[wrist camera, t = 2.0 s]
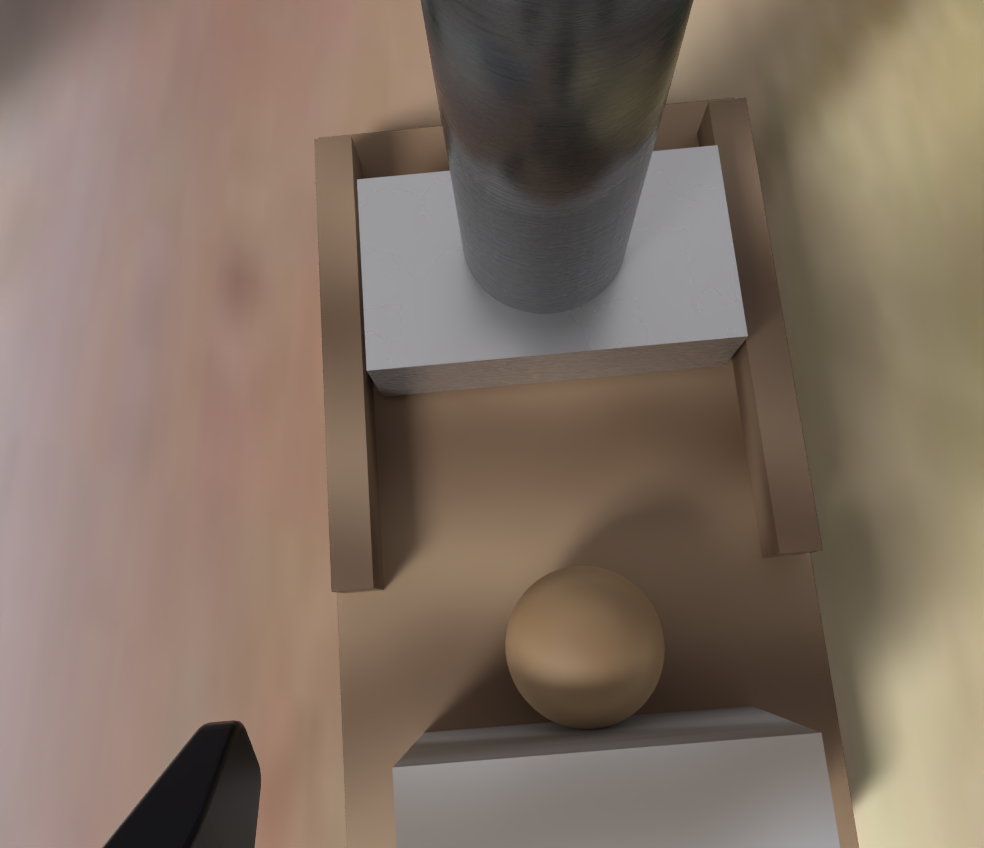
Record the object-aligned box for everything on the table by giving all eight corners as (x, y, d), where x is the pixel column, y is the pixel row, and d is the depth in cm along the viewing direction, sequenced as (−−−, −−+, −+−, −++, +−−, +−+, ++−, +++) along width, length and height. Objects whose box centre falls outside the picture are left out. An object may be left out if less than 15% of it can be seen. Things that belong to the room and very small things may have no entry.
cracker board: (830, 834, 22) (969, 933, 15) (364, 871, 22) (291, 985, 15) (718, 136, 26) (786, -34, 19) (334, 173, 26) (267, 18, 20)
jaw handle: (724, 365, 22) (1492, -616, 5) (383, 396, 22) (-149, -434, 5) (697, 186, 23) (1223, -1147, 6) (373, 216, 24) (-83, -984, 6)
